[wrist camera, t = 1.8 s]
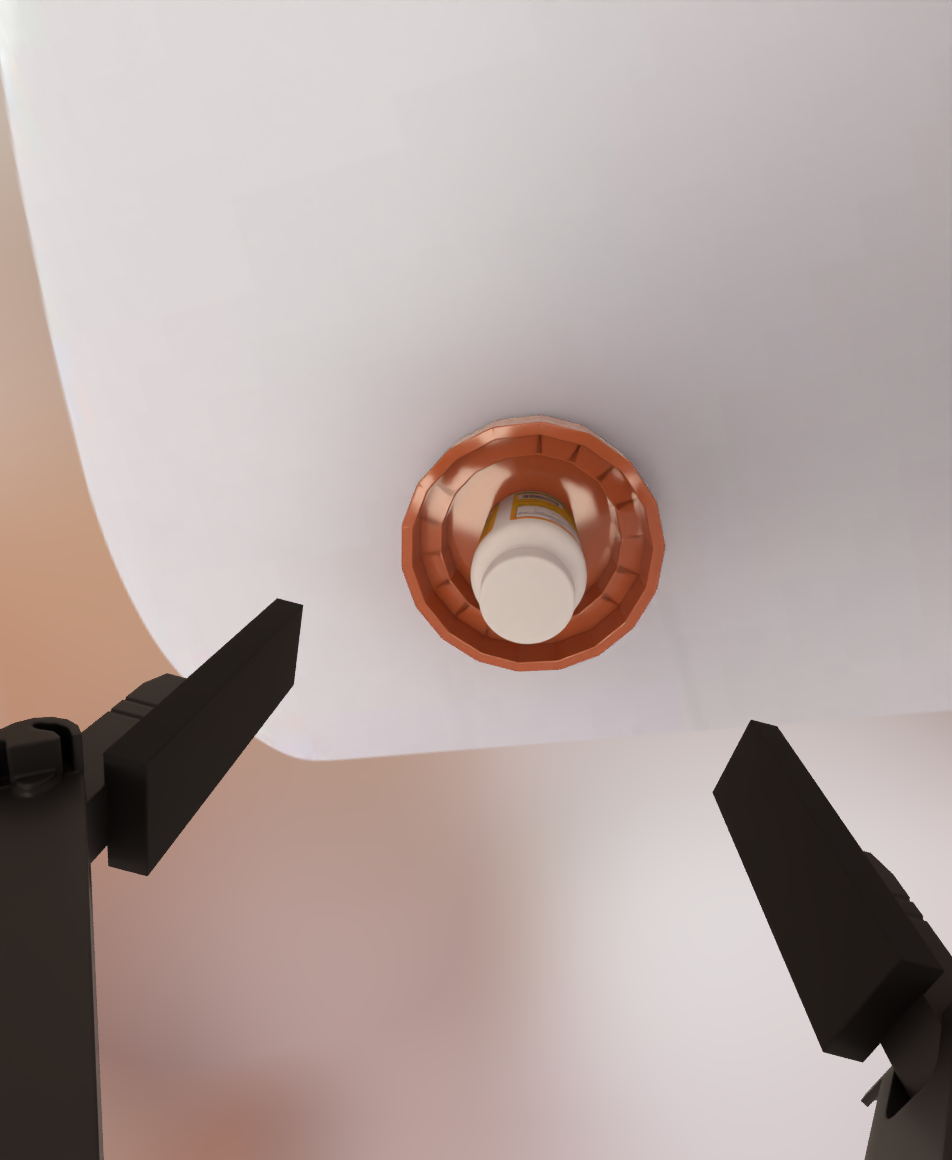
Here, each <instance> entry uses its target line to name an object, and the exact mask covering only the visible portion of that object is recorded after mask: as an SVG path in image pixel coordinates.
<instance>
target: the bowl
mask: <svg viewBox="0 0 952 1160" xmlns="http://www.w3.org/2000/svg"><path fill="white" fill-rule="evenodd" d="M522 491H539V492H543V493H546V494H549V495H551V496H553V497H555V498H556V499H558V500H559V501H560V502H562V503H563V504H564V505H565V506H566V507H567V509H568V510H569V511H570V513H571V515H572V517H573V519H574V521H575V524H576V528H577V532H578V536H579V540H580V543H581V547H582V551H583V555H584V558H585V563H586V569H587V582H586V588H585V592H584V594H583V597H582V599H581V601H580V603H579V604H578V606H577V607H576V608H575V610H574V612H573V615H572V617H571V619H570V621H569V622H568V624H567V625H566V627H565V628H564V629H563V630H562V631H561V632H560V633H559V634H557V635H556V636H554V637H552V638H551V639H548V640H546V641H543V642H540V643H533V644H521V643H515V642H512V641H509V640H506V639H504V638H503V637H501V636H499V635H498V634H496V633H495V632H494V631H493V630H492V629H491V628H490V627H489V626H488V624H487V623H486V621H485V620H484V618H483V616H482V613H481V610H480V606H479V603H478V601H477V599H476V597H475V595H474V592H473V589H472V584H471V566H472V561H473V557H474V553H475V550H476V548H477V545H478V542H479V539H480V537H481V534H482V531H483V528H484V525H485V522H486V520H487V518H488V516H489V514H490V512H491V511H492V509H493V508H494V507H495V506H496V505H497V504H498V503H499V502H500V501H501V500H503V499H504V498H506V497H508V496H510V495H512V494H514V493H517V492H522ZM664 551H665V542H664V537H663V532H662V526H661V521H660V516H659V511H658V505H657V502H656V500H655V498H654V497H653V495H652V494H651V492H650V491H649V489H648V488H647V486H646V485H645V483H644V481H643V480H642V478H641V477H640V475H639V474H638V472H637V471H636V469H635V467H634V466H633V464H632V463H631V462H630V461H629V460H628V459H627V458H626V457H625V456H624V455H623V454H622V453H621V452H620V451H619V450H618V449H616V448H615V447H614V446H612V445H611V444H609V443H608V442H607V441H605V440H604V439H602V438H601V437H600V436H598V435H597V434H595V433H594V432H592V431H591V430H590V429H588V428H587V427H585V426H583V425H580V424H576V423H572V422H568V421H564V420H560V419H556V418H552V417H549V416H545V415H542V416H541V415H535V416H526V417H517V418H509V419H500V420H497V421H495V422H493V423H491V424H489V425H487V426H485V427H483V428H481V429H479V430H477V431H475V432H473V433H471V434H469V435H467V436H465V437H464V438H462V439H460V440H459V441H458V442H457V443H456V444H454V445H453V446H452V447H451V448H450V449H449V450H448V451H447V452H446V453H445V454H444V455H443V456H442V457H441V458H440V459H439V461H438V462H437V463H436V464H435V465H434V466H433V467H432V468H431V469H430V471H429V472H428V473H427V474H426V475H425V476H424V477H423V478H422V479H421V480H420V482H419V483H418V485H417V487H416V489H415V492H414V494H413V497H412V500H411V502H410V505H409V507H408V510H407V513H406V515H405V518H404V520H403V523H402V570H403V573H404V576H405V579H406V581H407V584H408V587H409V589H410V592H411V595H412V598H413V600H414V603H415V606H416V607H417V609H418V610H419V611H420V612H421V614H422V615H423V616H424V617H425V618H426V620H427V621H428V622H429V623H430V625H431V626H432V627H433V628H434V629H435V631H436V632H437V633H438V634H439V636H440V637H441V638H443V640H445V641H447V642H448V643H450V644H451V645H453V646H455V647H456V648H458V649H459V650H461V651H462V652H464V653H466V654H467V655H469V656H470V657H472V658H474V659H475V660H478V661H479V662H483V663H487V664H491V665H495V666H499V667H502V668H506V669H510V670H514V671H539V670H559V669H563V668H566V667H568V666H571V665H574V664H576V663H579V662H582V661H585V660H587V659H590V658H593V657H595V656H598V655H600V654H601V653H603V652H604V651H605V650H606V649H608V648H609V647H610V646H611V645H613V644H614V643H615V642H616V641H618V640H619V639H620V638H622V637H623V636H624V635H625V634H627V633H628V632H629V631H630V630H632V629H633V627H634V626H635V625H636V623H637V622H638V620H639V618H640V617H641V615H642V614H643V612H644V610H645V609H646V607H647V606H648V604H649V602H650V601H651V599H652V598H653V596H654V594H655V593H656V590H657V587H658V582H659V577H660V572H661V567H662V562H663V556H664Z"/></svg>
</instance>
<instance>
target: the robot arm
mask: <svg viewBox="0 0 952 1160" xmlns="http://www.w3.org/2000/svg"><path fill="white" fill-rule="evenodd" d="M302 610H303V605H301V604H297V603H293V602H289V601H285V600H282V599H278V598H277V599H276V600H275V601H274V602H273V603H271V604H270V605H269V606H268V607H267V608H266V609H265V610H264V611H262V612H261V613H260V614H259V615H258V616H257V617H256V618H255V619H253V620H252V621H251V622H250V623H249V624H248V625H247V626H246V627H244V628H243V629H242V630H241V631H240V632H239V633H238V634H236V635H235V636H234V637H233V638H232V639H231V640H230V641H229V642H227V643H226V644H225V645H224V646H223V647H222V648H221V649H220V650H218V651H217V652H216V653H215V654H214V655H213V656H212V657H211V658H209V659H208V660H207V661H206V662H205V663H204V664H203V665H202V666H200V667H199V668H198V669H197V670H196V671H195V672H194V673H193V674H191V675H190V676H189V677H188V678H183V677H179V676H175V675H171V674H164V675H162V676H159V677H157V678H155V679H152V680H150V681H147V682H145V683H143V684H142V685H141V686H139V687H138V688H137V689H136V690H134V691H133V692H132V693H131V694H129V695H128V696H127V697H126V699H125V700H122V701H121V702H119V703H118V704H117V705H116V706H114V707H113V708H112V709H111V711H110V712H107V713H106V714H104V715H103V716H102V717H101V718H99V719H98V720H97V721H96V722H94V723H93V724H92V725H91V726H89V727H88V728H87V729H86V730H84V731H83V732H82V733H81V731H80V729H79V727H78V725H76V724H74V723H73V722H71V721H69V720H67V719H61V718H56V717H43V718H32V719H28V720H24V721H20V722H16V723H13V724H11V725H9V726H7V727H5V728H3V729H0V1160H104V1156H103V1135H102V1134H103V1133H102V1112H101V1088H100V1065H99V1045H98V1044H99V1042H98V1021H97V1020H98V1019H97V996H96V974H95V951H94V928H93V906H92V882H91V863H92V861H93V860H94V859H95V858H96V857H97V856H98V855H99V854H100V853H101V851H102V850H103V849H104V848H105V847H106V846H108V866H110V867H114V868H118V869H122V870H125V871H129V872H133V873H137V874H141V875H145V876H148V875H149V874H150V872H151V871H152V870H153V868H154V867H155V866H156V864H157V863H158V862H159V861H160V859H161V858H162V857H163V855H164V854H165V853H166V851H167V850H168V849H169V847H170V846H171V845H172V843H173V842H174V841H175V839H176V838H177V837H178V836H179V834H180V833H181V832H182V830H183V829H184V828H185V826H186V825H187V824H188V823H189V821H190V820H191V819H192V817H193V816H194V815H195V813H196V812H197V811H198V809H199V808H200V807H201V805H202V804H203V803H204V802H205V800H206V799H207V798H208V796H209V795H210V794H211V792H212V791H213V790H214V788H215V787H216V786H217V784H218V783H219V782H220V780H221V779H222V778H223V777H224V775H225V774H226V773H227V771H228V770H229V768H231V766H232V765H233V763H234V762H235V761H236V760H237V758H238V757H239V756H240V754H241V753H242V751H243V750H244V749H245V748H246V746H247V745H248V744H249V742H250V741H251V740H252V739H253V737H254V736H255V735H256V733H257V732H258V731H259V730H260V728H261V727H262V726H263V724H264V723H265V722H266V720H267V719H268V718H269V716H270V715H271V714H272V713H273V711H274V710H275V709H276V707H277V706H278V705H279V703H280V702H281V701H282V699H283V698H284V697H285V695H286V694H287V693H288V692H289V690H290V689H291V688H292V686H293V685H294V678H295V670H296V661H297V653H298V644H299V636H300V627H301V619H302ZM713 795H714V797H715V799H716V802H717V804H718V806H719V809H720V811H721V813H722V816H723V818H724V820H725V823H726V825H727V827H728V830H729V832H730V835H731V837H732V839H733V842H734V844H735V846H736V849H737V851H738V853H739V856H740V858H741V860H742V862H743V865H744V867H745V869H746V872H747V874H748V876H749V879H750V881H751V884H752V886H753V889H754V891H755V893H756V895H757V898H758V900H759V903H760V905H761V907H762V910H763V912H764V914H765V917H766V919H767V921H768V924H769V926H770V928H771V931H772V933H773V935H774V938H775V940H776V943H777V945H778V947H779V950H780V952H781V954H782V957H783V959H784V961H785V964H786V966H787V968H788V971H789V973H790V975H791V978H792V980H793V982H794V985H795V987H796V989H797V992H798V994H799V997H800V999H801V1001H802V1004H803V1006H804V1008H805V1011H806V1013H807V1015H808V1018H809V1020H810V1022H811V1024H812V1027H813V1029H814V1032H815V1034H816V1036H817V1039H818V1041H819V1043H820V1046H821V1048H822V1051H823V1052H825V1053H829V1054H832V1055H836V1056H840V1057H844V1058H848V1059H852V1060H856V1061H859V1062H864V1061H865V1060H866V1058H867V1057H868V1056H869V1055H870V1054H871V1053H872V1052H873V1050H874V1049H875V1048H876V1047H877V1046H878V1045H879V1044H880V1043H881V1045H882V1047H883V1049H884V1051H885V1053H886V1055H887V1057H888V1058H889V1060H890V1062H891V1064H892V1066H891V1067H890V1068H889V1070H888V1071H887V1072H886V1073H885V1074H884V1075H883V1076H882V1077H881V1078H880V1079H879V1080H878V1081H877V1082H876V1083H875V1084H874V1085H873V1087H872V1088H871V1089H870V1090H869V1091H868V1092H867V1093H866V1094H865V1096H864V1097H863V1099H862V1100H861V1101H862V1102H863V1103H864V1104H865V1105H866V1106H867V1107H868V1106H869V1105H870V1104H871V1103H872V1102H873V1101H874V1100H877V1104H876V1109H875V1113H874V1118H873V1123H872V1127H871V1132H870V1137H869V1141H868V1146H867V1151H866V1156H865V1160H952V956H951V955H950V953H949V952H948V950H947V949H946V948H945V947H944V945H943V943H942V942H941V941H940V939H939V938H938V936H937V935H936V934H935V932H934V931H933V929H932V928H931V927H930V925H929V924H928V922H927V921H924V920H923V915H922V914H921V913H920V911H919V910H918V908H917V907H916V906H915V904H914V903H913V902H910V900H909V899H910V897H909V896H908V895H907V893H906V892H905V890H904V889H903V888H902V886H901V885H900V883H899V882H898V881H897V879H896V878H895V876H894V875H893V874H892V873H891V872H890V871H889V870H888V869H887V868H886V867H885V866H884V865H883V864H882V863H881V862H880V861H879V860H877V859H876V858H875V857H874V856H873V855H872V854H871V853H869V852H865V851H862V849H861V848H860V846H859V845H858V843H857V842H856V840H855V839H854V837H853V836H852V835H851V833H850V832H849V830H848V829H847V827H846V826H845V824H844V823H843V822H842V820H841V819H840V817H839V816H838V814H837V813H836V811H835V810H834V808H833V807H832V805H831V804H830V803H829V801H828V800H827V798H826V797H825V795H824V794H823V792H822V791H821V789H820V788H819V787H818V785H817V784H816V782H815V781H814V779H813V778H812V776H811V775H810V773H809V772H808V771H807V769H806V768H805V766H804V765H803V763H802V762H801V760H800V759H799V757H798V756H797V755H796V753H795V752H794V750H793V749H792V747H791V746H790V744H789V743H788V742H787V740H786V739H785V737H784V736H783V734H782V733H781V731H780V730H779V729H778V727H777V726H774V725H770V724H766V723H762V722H758V721H754V720H750V722H749V724H748V726H747V728H746V730H745V732H744V734H743V736H742V738H741V739H740V741H739V743H738V745H737V747H736V749H735V751H734V753H733V755H732V757H731V758H730V760H729V762H728V764H727V766H726V768H725V770H724V772H723V774H722V776H721V777H720V779H719V781H718V783H717V785H716V787H715V789H714V791H713Z"/></svg>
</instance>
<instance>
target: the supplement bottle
mask: <svg viewBox="0 0 952 1160" xmlns="http://www.w3.org/2000/svg"><path fill="white" fill-rule="evenodd" d="M586 582H587V569H586V563H585V558H584V555H583V551H582V547H581V543H580V540H579V536H578V532H577V528H576V524H575V521H574V519H573V517H572V515H571V513H570V511H569V510H568V509H567V507H566V506H565V505H564V504H563V503H562V502H560V501H559V500H558V499H556V498H555V497H553V496H551V495H549V494H546V493H543V492H539V491H522V492H517V493H514V494H512V495H510V496H508V497H506V498H504V499H503V500H501V501H500V502H499V503H498V504H497V505H496V506H495V507H494V508H493V509H492V511H491V512H490V514H489V516H488V518H487V520H486V522H485V525H484V528H483V531H482V534H481V537H480V539H479V542H478V545H477V548H476V550H475V553H474V557H473V561H472V566H471V584H472V589H473V592H474V595H475V597H476V599H477V601H478V603H479V606H480V610H481V613H482V616H483V618H484V620H485V621H486V623H487V624H488V626H489V627H490V628H491V629H492V630H493V631H494V632H495V633H496V634H498V635H499V636H501V637H503V638H504V639H506V640H509V641H512V642H515V643H521V644H533V643H540V642H543V641H546V640H548V639H551V638H552V637H554V636H556V635H557V634H559V633H560V632H561V631H562V630H563V629H564V628H565V627H566V625H567V624H568V622H569V621H570V619H571V617H572V615H573V612H574V610H575V608H576V607H577V606H578V604H579V603H580V601H581V599H582V597H583V594H584V592H585V588H586Z"/></svg>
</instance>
